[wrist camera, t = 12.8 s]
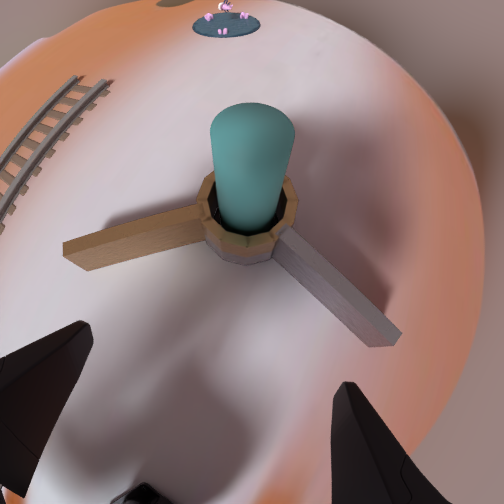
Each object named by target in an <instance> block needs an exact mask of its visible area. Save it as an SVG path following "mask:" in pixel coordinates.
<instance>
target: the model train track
mask: <svg viewBox="0 0 504 504" xmlns="http://www.w3.org/2000/svg"><path fill="white" fill-rule="evenodd" d="M77 77H78V76H75V75H73V76H72V77H71V78H70V79H69V80H68V81H67V82H66V83H65V84H64V85H63V86H62V87H60V88H59V89H58V90H57V91H56V92H55V93H54V94H53V95H52V96H51V97H50V98H49V99H48V100H47V101H46V103H45V104H44V105H43V106H42V107H41V108H40V109H39V110H38V111H37V112H36V113H35V114H34V116H33V117H32V118H31V119H30V120H29V121H28V122H27V124H26V125H25V126H24V127H23V128H22V130H21V131H20V132H19V133H18V134H17V136H16V137H15V138H14V139H13V141H12V142H11V143H10V145H9V146H8V147H7V149H6V150H5V151H4V153H3V154H2V155H1V157H0V179H1V180H3V181H4V182H5V183H7V184H8V185H9V188H8V189H7V191H6V193H5V194H4V196H3V195H2V194H1V193H0V235H1V234H2V232H3V230H4V228H5V225H4V224H3V223H2V221H3V219H4V218H5V216H6V214H7V213H8V214H9V215H12V214H13V212H14V211H15V209H16V206H15V205H14V204H13V203H14V201H15V199H16V198H17V196H18V195H19V193H20V194H21V195H22V196H24V195H25V193H26V192H27V190H28V189H29V187H28V186H27V185H25V184H26V182H27V181H28V180H29V178H30V177H31V175H34V176H35V177H36V176H38V174H39V173H40V171H41V170H42V168H40V167H39V164H40V163H41V161H42V160H43V159H44V158H45V157H47V158H49V159H50V158H51V157H52V155H53V154H54V153H55V151H56V150H54V149H52V147H53V146H54V145H55V144H56V142H57V141H58V140H61V141H65V139H66V138H67V137H68V136H69V133H66V131H67V129H68V128H69V127H70V126H71V125H72V124H73V125H76V126H77V125H78V124H79V123H80V122H81V121H82V120H83V118H80V117H79V116H80V115H81V114H82V113H83V112H84V111H85V110H89V111H91V110H92V109H93V108H94V107H95V106H96V105H97V104H94V103H93V102H94V101H95V100H96V99H97V98H98V97H99V96H101V97H105V96H107V95H108V94H109V93H110V91H108V90H106V89H107V88H108V87H109V85H107V83H106V82H107V80H104V79H101V80H100V81H99V82H98V83H97V84H96V85H95V86H94V87H93V88H92V87H86V86H80V85H77V84H78V83H79V82H80V81H79V80H78V79H77ZM70 91H76V92H81V93H86V94H85V95H84V96H83V97H82V98H81V99H80V100H76V99H72V98H67V97H65V96H66V95H67V94H68V93H69V92H70ZM58 103H60V104H65V105H69V106H73V107H72V108H71V109H70V110H69V111H68V112H67V113H63V112H59V111H55V110H52V109H53V108H54V107H55V106H56V105H57V104H58ZM46 116H47V117H51V118H54V119H57V120H60V121H59V122H58V123H57V124H56V126H55V127H54V128H53V127H50V126H47V125H44V124H41V123H40V122H41V121H42V120H43V119H44V118H45V117H46ZM33 130H35V131H38V132H40V133H43V134H46V135H47V136H46V137H45V139H44V140H43V141H42V142H41V143H38V142H36V141H34V140H32V139H29V138H28V137H29V135H30V134H31V133H32V132H33ZM21 145H23V146H25V147H27V148H29V149H31V150H33V151H34V152H33V154H32V155H31V156H30V158H29V159H28V160H26V159H25V158H23V157H21V156H19V155H18V154H16V152H17V151H18V149H19V148H20V147H21ZM9 161H11V162H13V163H14V164H16V165H17V166H19V167H21V168H22V169H21V170H20V171H19V173H18V174H17V176H16V177H14V176H13V175H11V174H10V173H8V172H7V171H6V170H4V169H5V167H6V166H7V164H8V163H9Z"/></svg>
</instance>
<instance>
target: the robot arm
mask: <svg viewBox="0 0 504 504" xmlns="http://www.w3.org/2000/svg"><path fill="white" fill-rule="evenodd" d="M92 346H93V335H92V331H91V327H90V325H89V323H87V322H84V321H81V320H79V321H76V322H74V323H72V324H70V325H68V326H66V327H64V328H62V329H60V330H58V331H55V332H53V333H51V334H49V335H47V336H45V337H43V338H41V339H39V340H37V341H35V342H33V343H31V344H29V345H27V346H25V347H23V348H20V349H18V350H16V351H14V352H12V353H10V354H8V355H6V357H5V356H4V357H2V358H0V504H6V502H5V500H4V496H3V493H2V490H1V489H2V487H3V486H4V487H6V488H7V489H9V490H10V491H12V492H14V493H15V494H17V495H19V496H20V497H22V498H25V496H26V493H27V490H28V488H29V485H30V482H31V480H32V477H33V475H34V472H35V470H36V467H37V465H38V462H39V459H40V457H41V455H42V452H43V450H44V448H45V446H46V443H47V441H48V439H49V437H50V435H51V432H52V430H53V428H54V426H55V424H56V422H57V420H58V418H59V416H60V414H61V412H62V410H63V408H64V406H65V404H66V402H67V400H68V398H69V396H70V394H71V392H72V390H73V388H74V386H75V384H76V383H77V381H78V379H79V377H80V374H81V372H82V370H83V367H84V365H85V362H86V360H87V357H88V355H89V353H90V350H91V348H92ZM331 472H332V504H452V503H450V502H448V501H447V500H446V499H445V498H444V497H443V496H442V495H441V494H440V493H439V492H438V490H437V489H436V488H435V487H434V486H433V485H432V484H431V483H430V482H429V481H428V480H427V478H426V477H425V476H424V475H423V474H422V473H421V472H420V471H419V469H418V468H417V467H416V465H415V464H414V463H413V461H412V460H411V458H410V457H409V456H408V454H406V452H405V450H404V449H403V448H402V446H401V445H400V443H399V442H398V441H397V439H396V438H395V437H394V435H393V434H392V432H391V431H390V430H389V428H388V427H387V426H386V424H385V423H384V421H383V420H382V419H381V417H380V416H379V415H378V413H377V412H376V410H375V409H374V408H373V406H372V405H371V404H370V402H369V401H368V399H367V398H366V397H365V395H364V394H363V393H362V391H361V390H360V389H359V387H358V386H357V384H356V383H354V382H346V381H345V382H343V383H342V384H341V386H340V387H339V389H338V390H337V392H336V393H335V395H334V398H333V409H332V424H331ZM143 486H144V487H146V488H147V489H145V488H143ZM111 504H173V503H172V502H171V501H169V500H168V499H167V498H166V497H164V496H162V495H161V494H160V493H158V492H157V491H156V490H155V489H154V488H152V487H151V486H150V485H149V484H147V483H141V484H140V485H138V486H137V487H135V488H134V489H133V490H131V491H130V492H128V493H127V494H125V495H124V496H122V497H121V498H119V499H117V500H116V501H114V502H113V503H111Z"/></svg>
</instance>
